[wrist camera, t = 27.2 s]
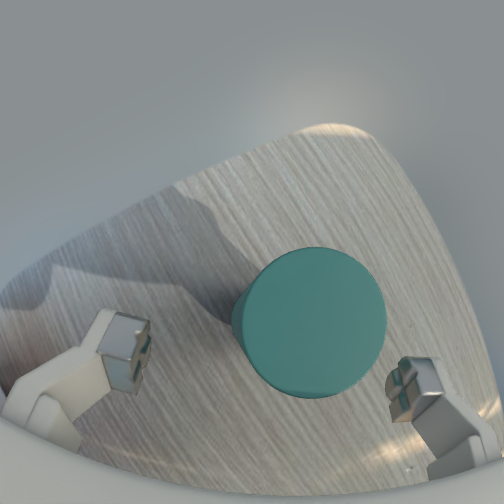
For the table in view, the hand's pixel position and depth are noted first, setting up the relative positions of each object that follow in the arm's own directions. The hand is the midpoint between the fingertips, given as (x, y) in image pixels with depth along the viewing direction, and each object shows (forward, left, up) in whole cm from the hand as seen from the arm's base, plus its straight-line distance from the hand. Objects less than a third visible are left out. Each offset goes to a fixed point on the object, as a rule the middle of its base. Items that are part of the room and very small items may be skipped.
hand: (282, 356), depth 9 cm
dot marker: (+1, +1, -8) cm, 8 cm away
